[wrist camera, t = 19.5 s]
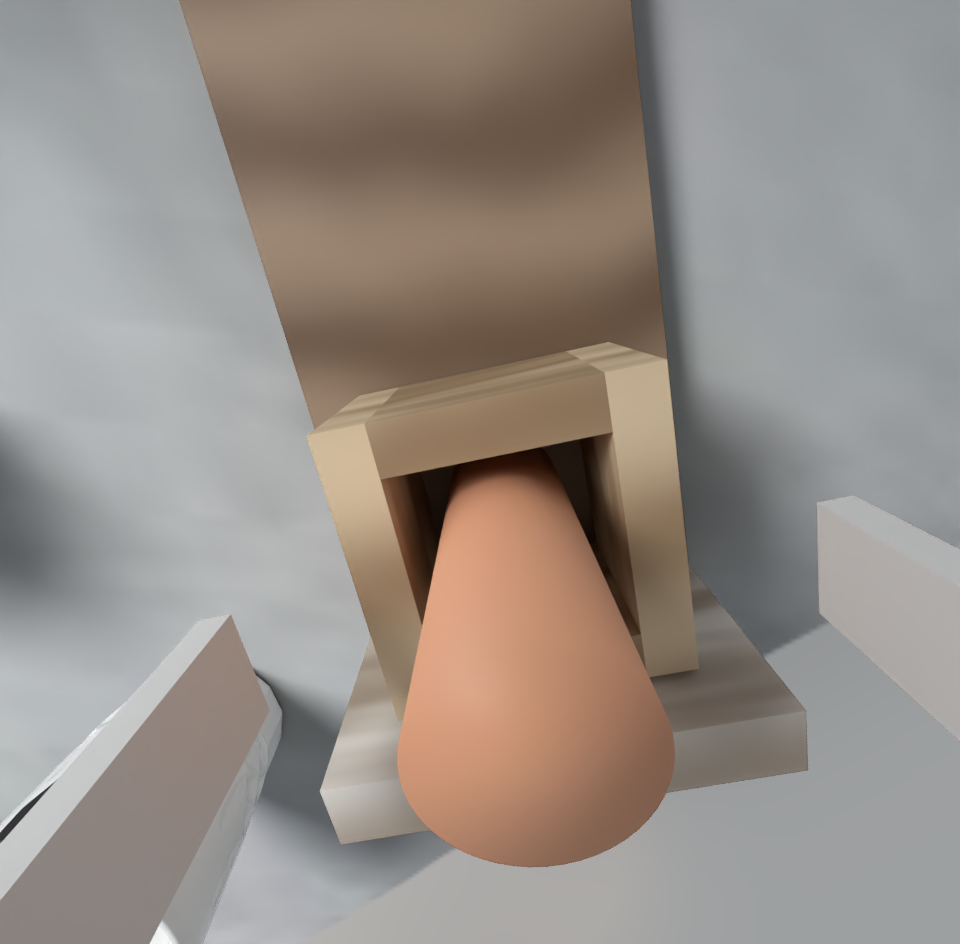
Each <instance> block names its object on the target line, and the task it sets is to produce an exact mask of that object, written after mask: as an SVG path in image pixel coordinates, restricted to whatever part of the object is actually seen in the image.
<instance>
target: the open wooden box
mask: <svg viewBox="0 0 960 944" xmlns="http://www.w3.org/2000/svg"><path fill="white" fill-rule="evenodd" d="M307 439H308V443H309V446H310V449H311V452H312V455H313V458H314V461H315V464H316V467H317V471H318V474H319V477H320V480H321V483H322V486H323V489H324V492H325V495H326V498H327V502H328V505H329V508H330V511H331V514H332V517H333V520H334V523H335V526H336V530H337V533H338V536H339V539H340V542H341V545H342V548H343V551H344V554H345V558H346V561H347V564H348V567H349V570H350V573H351V576H352V579H353V582H354V585H355V589H356V592H357V595H358V598H359V601H360V604H361V607H362V610H363V613H364V617H365V620H366V623H367V626H368V629H369V632H370V635H371V638H372V641H373V644H374V648H375V651H376V654H377V657H378V660H379V663H380V666H381V669H382V672H383V676H384V679H385V682H386V685H387V688H388V691H389V694H390V697H391V700H392V704H393V707H394V710H395V713H396V716H397V719H398V721H401V720H403V718H404V713H405V708H406V703H407V698H408V693H409V688H410V683H411V679H412V674H413V669H414V664H415V659H416V654H417V649H418V644H419V640H420V635H421V630H422V625H423V620H424V615H425V610H426V605H427V601H428V596H429V591H430V586H431V581H432V576H433V571H434V566H435V562H436V557H437V552H438V547H439V542H440V541H439V537H438V533H437V529H436V525H435V522H434V518H433V514H432V510H431V506H430V502H429V498H428V495H427V491H426V487H425V483H424V479H423V475H422V471H425V470H430V469H435V468H440V467H445V466H450V465H455V464H460V463H465V462H469V461H474V460H479V459H484V458H489V457H494V456H499V455H504V454H509V453H514V452H518V451H523V450H528V449H533V448H538V447H543V446H548V445H553V444H558V443H562V442H567V441H572V440H577V439H580V442H581V448H582V454H583V460H584V467H585V473H586V479H587V485H588V492H589V498H590V504H591V510H592V517H593V523H594V529H595V535H596V542H597V543H593V544H590V547H591V549H592V551H593V553H594V556H595V558H596V560H597V562H598V564H599V567H600V569H601V571H602V573H603V576H604V578H605V580H606V582H607V584H608V587H609V589H610V591H611V593H612V596H613V598H614V600H615V602H616V604H617V607H618V609H619V611H620V613H621V616H622V618H623V620H624V622H625V624H626V627H627V629H628V631H629V633H630V636H631V638H632V640H633V642H634V644H635V647H636V649H637V651H638V653H639V656H640V658H641V660H642V662H643V664H644V667H645V669H646V671H647V673H648V676H649V677H655V676H660V675H666V674H672V673H678V672H684V671H689V670H695V669H699V664H698V654H697V645H696V635H695V625H694V616H693V606H692V596H691V587H690V577H689V567H688V558H687V548H686V538H685V529H684V519H683V509H682V499H681V490H680V480H679V470H678V461H677V451H676V441H675V432H674V422H673V412H672V403H671V393H670V383H669V374H668V364H667V359H664V358H660V357H657V356H654V355H650V354H647V353H644V352H640V351H637V350H634V349H630V348H627V347H624V346H620V345H617V344H614V343H610V342H607V343H602V344H597V345H593V346H588V347H584V348H579V349H574V350H570V351H565V352H560V353H556V354H551V355H546V356H542V357H537V358H532V359H528V360H523V361H519V362H514V363H509V364H505V365H500V366H495V367H491V368H486V369H481V370H477V371H472V372H468V373H463V374H458V375H454V376H449V377H444V378H440V379H435V380H430V381H426V382H421V383H416V384H412V385H407V386H403V387H398V388H393V389H389V390H384V391H379V392H375V393H370V394H365V395H361V396H358V397H357V398H356V399H354V400H353V401H352V402H350V403H349V404H348V405H346V406H345V407H344V408H342V409H341V410H340V411H338V412H337V413H336V414H335V415H333V416H332V417H331V418H329V419H328V420H327V421H325V422H324V423H323V424H321V425H320V426H319V427H317V428H316V429H315V430H313V431H312V432H311V433H309V434H308V435H307Z"/></svg>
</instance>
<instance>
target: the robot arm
mask: <svg viewBox="0 0 960 944" xmlns="http://www.w3.org/2000/svg"><path fill="white" fill-rule="evenodd" d="M817 527H818V578H819V613H820V614H821V615H822V616H823V617H824V618H825V619H826V620H827V621H828V622H829V623H831V624H832V625H833V626H834V627H835V628H836V629H838V631H839V632H841V633H842V634H843V635H844V636H845V637H846V638H847V639H848V640H849V641H850V642H851V643H853V644H854V645H855V646H856V647H857V648H858V649H859V650H860V651H861V652H862V653H863V654H865V655H866V656H867V657H868V658H869V659H870V660H871V661H872V662H873V663H874V664H875V665H877V666H878V667H879V668H880V669H881V670H882V671H883V672H884V673H885V674H886V675H887V676H889V677H890V678H891V679H892V680H893V681H894V682H895V683H896V684H897V685H898V686H900V687H901V688H902V689H903V690H904V691H905V692H906V693H908V695H909V696H911V697H912V698H913V699H914V700H915V701H916V702H917V703H918V704H919V705H920V706H922V707H923V708H924V709H925V710H926V711H927V712H928V713H929V714H930V715H931V716H932V717H933V718H935V719H936V720H937V721H938V722H939V723H940V724H941V725H943V727H944V728H946V729H947V730H948V731H949V732H950V733H951V734H952V735H953V736H954V737H955V738H956V739H958V740H959V741H960V549H958V548H956V547H954V546H952V545H950V544H948V543H946V542H944V541H942V540H940V539H938V538H936V537H934V536H932V535H930V534H928V533H926V532H925V531H923V530H921V529H919V528H917V527H915V526H913V525H911V524H909V523H907V522H905V521H903V520H901V519H899V518H897V517H895V516H893V515H891V514H889V513H887V512H886V511H884V510H882V509H880V508H878V507H876V506H874V505H872V504H870V503H868V502H866V501H864V500H862V499H860V498H858V497H856V496H854V495H853V496H848V497H842V498H837V499H832V500H827V501H822V502H817ZM269 712H270V709H269V707H268V704H267V702H266V699H265V697H264V694H263V692H262V689H261V687H260V685H259V682H258V680H257V677H256V675H255V672H254V670H253V668H252V665H251V663H250V660H249V658H248V655H247V653H246V650H245V648H244V646H243V643H242V641H241V638H240V636H239V633H238V631H237V629H236V626H235V624H234V621H233V619H232V616H231V614H229V615H224V616H219V617H214V618H208V619H203V620H199V621H198V622H197V623H196V624H195V625H194V626H193V628H192V629H191V630H190V631H189V632H188V633H187V634H186V635H185V637H184V638H183V639H182V640H181V641H180V642H179V643H178V644H177V646H176V647H175V648H174V649H173V650H172V651H171V652H170V653H169V655H168V656H167V657H166V658H165V659H164V660H163V661H162V662H161V664H160V665H159V666H158V667H157V668H156V669H155V670H154V671H153V673H152V674H151V675H150V676H149V677H148V678H147V679H146V680H145V682H144V683H143V684H142V685H141V686H140V687H139V688H138V689H137V691H136V692H135V693H134V694H133V695H132V696H131V697H130V698H129V700H128V701H127V702H126V703H125V704H124V705H123V706H122V707H121V709H120V710H119V711H118V712H117V713H116V714H115V715H114V716H113V718H112V719H111V720H110V721H109V722H108V723H107V724H106V725H105V727H104V728H103V729H102V730H101V731H100V732H99V733H98V734H97V736H96V737H95V738H94V739H93V740H92V741H91V742H90V743H89V744H88V746H87V747H86V748H85V749H84V750H83V751H82V752H81V753H80V755H79V756H78V757H77V758H76V759H75V760H74V761H73V762H72V764H71V765H70V766H69V767H68V768H67V769H66V770H65V771H64V773H63V774H62V775H61V776H60V777H59V778H58V779H57V780H56V781H55V782H54V783H52V784H51V785H50V786H49V787H48V788H46V789H45V790H44V791H43V792H41V793H40V794H39V795H38V796H36V797H35V798H34V799H33V800H32V801H30V802H29V803H28V804H27V805H25V806H24V807H23V808H22V809H21V810H20V811H19V812H18V813H17V814H16V815H15V817H14V818H13V819H12V820H11V821H10V822H9V823H8V824H7V825H6V826H5V828H4V829H3V830H2V831H1V832H0V944H150V942H151V940H152V938H153V936H154V934H155V932H156V930H157V928H158V926H159V925H160V923H161V921H162V919H163V917H164V915H165V913H166V911H167V909H168V907H169V905H170V903H171V901H172V899H173V897H174V896H175V894H176V892H177V890H178V888H179V886H180V884H181V882H182V880H183V878H184V876H185V874H186V872H187V870H188V868H189V867H190V865H191V863H192V861H193V859H194V857H195V855H196V853H197V851H198V849H199V847H200V845H201V843H202V841H203V839H204V838H205V836H206V834H207V832H208V830H209V828H210V826H211V824H212V822H213V820H214V818H215V816H216V814H217V812H218V810H219V809H220V807H221V805H222V803H223V801H224V799H225V797H226V795H227V793H228V791H229V789H230V787H231V785H232V783H233V781H234V780H235V778H236V776H237V774H238V772H239V770H240V768H241V766H242V764H243V762H244V760H245V758H246V756H247V754H248V752H249V751H250V749H251V747H252V745H253V743H254V741H255V739H256V737H257V735H258V733H259V731H260V729H261V727H262V725H263V723H264V722H265V720H266V718H267V716H268V714H269Z"/></svg>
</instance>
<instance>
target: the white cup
mask: <svg viewBox="0 0 960 944" xmlns="http://www.w3.org/2000/svg"><path fill="white" fill-rule="evenodd" d="M256 677H257V680H258V682H259V685H260V687H261V689H262V692H263V694H264V697H265V699H266V702H267V704H268V707H269V709H270V712H269V714H268V716H267V718H266V720H265V722H264V723H263V725H262V727H261V729H260V731H259V733H258V735H257V737H256V739H255V741H254V743H253V745H252V747H251V749H250V751H249V752H248V754H247V756H246V758H245V760H244V762H243V764H242V766H241V768H240V770H239V772H238V774H237V776H236V778H235V780H234V781H233V783H232V785H231V787H230V789H229V791H228V793H227V795H226V797H225V799H224V801H223V803H222V805H221V807H220V809H219V810H218V812H217V814H216V816H215V818H214V820H213V822H212V824H211V826H210V828H209V830H208V832H207V834H206V836H205V838H204V839H203V841H202V843H201V845H200V847H199V849H198V851H197V853H196V855H195V857H194V859H193V861H192V863H191V865H190V867H189V868H188V870H187V872H186V874H185V876H184V878H183V880H182V882H181V884H180V886H179V888H178V890H177V892H176V894H175V896H174V897H173V899H172V901H171V903H170V905H169V907H168V909H167V911H166V913H165V915H164V917H163V919H162V921H161V923H160V925H159V926H158V928H157V930H156V932H155V934H154V936H153V938H152V940H151V942H150V944H203V942H204V940H205V937H206V935H207V932H208V930H209V927H210V924H211V922H212V919H213V917H214V914H215V912H216V909H217V907H218V904H219V902H220V899H221V897H222V894H223V892H224V889H225V887H226V884H227V881H228V879H229V876H230V874H231V871H232V869H233V866H234V864H235V861H236V859H237V856H238V854H239V851H240V849H241V846H242V843H243V841H244V838H245V835H246V832H247V829H248V826H249V822H250V819H251V817H252V815H253V813H254V810H255V808H256V805H257V803H258V800H259V797H260V794H261V791H262V787H263V784H264V780H265V775H266V773H267V771H268V769H269V766H270V764H271V761H272V759H273V756H274V754H275V752H276V749H277V747H278V744H279V742H280V739H281V729H282V710H281V708H280V706H279V704H278V702H277V700H276V698H275V696H274V694H273V692H272V690H271V688H270V686H269V685H267V684H266V683H265V682H264V681H262V680H261V679H260V678H259V677H258V676H256ZM136 691H137V690H136ZM136 691H135V692H136ZM128 700H129V699H128ZM128 700H127V701H128ZM127 701H126V702H127ZM126 702H125V703H126ZM125 703H124V704H125ZM124 704H123V705H124ZM123 705H122V706H123ZM122 706H121V707H122ZM121 707H120V708H118V709H117V710H116V711H115V712H113V713H112V714H111V715H110V716H109V717H108V718H106V719H105V720H104V721H103V722H102V723H101V724H100V725H99V726H98V727H97V728H96V729H95V730H94V731H93V732H92V733H91V734H90V735H89V736H88V737H87V738H86V739H85V740H84V742H82V743H81V744H80V745H79V746H78V747H77V748H76V749H74V750H73V751H72V752H71V753H70V754H69V755H68V756H67V757H66V758H65V759H64V760H63V761H62V762H61V763H60V764H59V765H58V766H57V767H56V768H55V769H54V770H53V771H52V772H51V773H50V774H49V775H48V776H47V777H46V778H45V779H44V780H43V781H42V782H41V783H40V784H39V785H38V786H37V787H36V788H35V789H34V790H33V791H32V792H31V793H30V794H29V795H28V796H27V797H26V798H25V799H24V800H23V801H22V802H21V803H20V804H19V806H18V807H17V808H16V809H15V810H14V811H13V812H12V813H11V814H10V815H9V816H8V817H7V818H6V819H5V820H4V821H3V822H2V823H1V824H0V832H1V831H2V830H3V829H4V828H5V826H6V825H7V824H8V823H9V822H10V821H11V820H12V819H13V818H14V817H15V815H16V814H17V813H18V812H19V811H20V810H21V809H22V808H23V807H24V806H25V805H27V804H28V803H29V802H30V801H32V800H33V799H34V798H35V797H36V796H38V795H39V794H40V793H41V792H43V791H44V790H45V789H46V788H48V787H49V786H50V785H51V784H52V783H54V782H55V781H56V780H57V779H58V778H59V777H60V776H61V775H62V774H63V773H64V771H65V770H66V769H67V768H68V767H69V766H70V765H71V764H72V762H73V761H74V760H75V759H76V758H77V757H78V756H79V755H80V753H81V752H82V751H83V750H84V749H85V748H86V747H87V746H88V744H89V743H90V742H91V741H92V740H93V739H94V738H95V737H96V736H97V734H98V733H99V732H100V731H101V730H102V729H103V728H104V727H105V725H106V724H107V723H108V722H109V721H110V720H111V719H112V718H113V716H114V715H115V714H116V713H117V712H118V711H119V710H120V709H121Z"/></svg>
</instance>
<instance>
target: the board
mask: <svg viewBox="0 0 960 944" xmlns="http://www.w3.org/2000/svg"><path fill="white" fill-rule="evenodd" d="M179 1H180V4H181V7H182V11H183V14H184V17H185V20H186V23H187V26H188V30H189V33H190V36H191V39H192V42H193V45H194V49H195V52H196V55H197V58H198V61H199V64H200V68H201V71H202V74H203V77H204V80H205V83H206V87H207V90H208V93H209V96H210V99H211V102H212V106H213V109H214V112H215V115H216V118H217V121H218V125H219V128H220V131H221V134H222V137H223V140H224V144H225V147H226V150H227V153H228V156H229V159H230V163H231V166H232V169H233V172H234V175H235V178H236V182H237V185H238V188H239V191H240V194H241V197H242V201H243V204H244V207H245V210H246V213H247V216H248V220H249V223H250V226H251V229H252V232H253V235H254V239H255V242H256V245H257V248H258V251H259V254H260V258H261V261H262V264H263V267H264V270H265V273H266V277H267V280H268V283H269V286H270V289H271V292H272V296H273V299H274V302H275V305H276V308H277V311H278V315H279V318H280V321H281V324H282V327H283V330H284V334H285V337H286V340H287V343H288V346H289V349H290V353H291V356H292V359H293V362H294V365H295V368H296V372H297V375H298V378H299V381H300V384H301V388H302V391H303V394H304V397H305V400H306V403H307V407H308V410H309V413H310V416H311V419H312V422H313V426H314V429H316V428H317V427H319V426H320V425H321V424H323V423H324V422H325V421H327V420H328V419H329V418H331V417H332V416H333V415H335V414H336V413H337V412H338V411H340V410H341V409H342V408H344V407H345V406H346V405H348V404H349V403H350V402H352V401H353V400H354V399H356V398H357V397H358V396H361V395H365V394H370V393H375V392H379V391H384V390H389V389H393V388H398V387H403V386H407V385H412V384H416V383H421V382H426V381H430V380H435V379H440V378H444V377H449V376H454V375H458V374H463V373H468V372H472V371H477V370H481V369H486V368H491V367H495V366H500V365H505V364H509V363H514V362H519V361H523V360H528V359H532V358H537V357H542V356H546V355H551V354H556V353H560V352H565V351H570V350H574V349H579V348H584V347H588V346H593V345H597V344H602V343H607V342H610V343H614V344H617V345H620V346H624V347H627V348H630V349H634V350H637V351H640V352H644V353H647V354H650V355H654V356H657V357H660V358H664V359H667V349H666V339H665V330H664V320H663V310H662V300H661V291H660V281H659V271H658V262H657V252H656V242H655V232H654V223H653V213H652V203H651V194H650V184H649V174H648V165H647V155H646V145H645V135H644V126H643V116H642V106H641V97H640V87H639V77H638V67H637V58H636V48H635V38H634V29H633V19H632V9H631V0H179ZM667 364H668V359H667ZM668 374H669V368H668ZM669 383H670V378H669ZM670 393H671V388H670ZM671 403H672V398H671ZM672 412H673V407H672ZM673 422H674V417H673ZM674 432H675V427H674ZM675 441H676V436H675ZM541 448H542V449H544V451H545V452H546V453H547V454H548V456H549V457H550V459H551V460H552V462H553V465H554V467H555V469H556V471H557V473H558V476H559V478H560V480H561V482H562V485H563V487H564V489H565V491H566V493H567V496H568V498H569V500H570V502H571V504H572V507H573V509H574V511H575V513H576V516H577V518H578V520H579V522H580V524H581V527H582V529H583V531H584V533H585V536H586V538H587V540H588V542H589V544H593V543H597V542H596V535H595V529H594V523H593V517H592V510H591V504H590V498H589V492H588V485H587V479H586V473H585V467H584V460H583V454H582V448H581V442H580V439H577V440H572V441H567V442H562V443H558V444H553V445H548V446H543V447H541ZM676 451H677V446H676ZM677 461H678V456H677ZM456 465H457V464H455V465H450V466H445V467H440V468H435V469H430V470H425V471H422V475H423V479H424V483H425V487H426V491H427V495H428V498H429V502H430V506H431V510H432V514H433V518H434V522H435V525H436V529H437V533H438V537H439V541H440V537H441V532H442V527H443V523H444V518H445V513H446V508H447V503H448V498H449V493H450V488H451V484H452V479H453V474H454V470H455V467H456ZM678 470H679V465H678ZM679 480H680V475H679ZM680 490H681V485H680ZM681 499H682V495H681ZM682 509H683V504H682ZM683 519H684V514H683ZM684 529H685V524H684ZM685 538H686V533H685ZM686 548H687V543H686ZM687 558H688V553H687ZM688 567H689V577H690V587H691V596H692V606H693V616H694V625H695V635H696V645H697V654H698V664H699V669H695V670H689V671H684V672H678V673H672V674H666V675H660V676H655V677H649V678H650V680H651V682H652V684H653V687H654V689H655V691H656V693H657V696H658V698H659V700H660V702H661V704H662V707H663V709H664V711H665V713H666V716H667V718H668V720H669V722H670V726H671V729H672V733H673V737H674V746H675V762H674V770H673V774H672V779H671V782H670V784H669V787H668V790H667V792H666V793H668V792H674V791H680V790H687V789H693V788H699V787H705V786H712V785H718V784H725V783H731V782H737V781H744V780H749V779H756V778H762V777H768V776H775V775H781V774H787V773H793V772H800V771H806V770H808V755H807V723H806V710H805V709H804V707H803V706H802V705H801V704H800V703H799V701H798V700H797V699H796V697H795V696H794V695H793V694H792V692H791V691H790V690H789V689H788V687H787V686H786V685H785V684H784V682H783V681H782V680H781V679H780V677H779V676H778V675H777V674H776V672H775V671H774V670H773V669H772V668H771V666H770V665H769V664H768V663H767V661H766V660H765V659H764V657H763V656H762V655H761V654H760V652H759V651H758V650H757V649H756V647H755V646H754V645H753V644H752V642H751V641H750V640H749V639H748V637H747V636H746V635H745V634H744V632H743V631H742V630H741V629H740V627H739V626H738V625H737V624H736V622H735V621H734V620H733V619H732V617H731V616H730V615H729V614H728V612H727V611H726V610H725V609H724V607H723V606H722V605H721V604H720V602H719V601H718V600H717V599H716V597H715V596H714V595H713V594H712V592H711V591H710V590H709V589H708V587H707V586H706V585H705V584H704V582H703V581H702V580H701V579H700V577H699V576H698V575H697V574H696V572H695V571H694V570H693V569H692V567H691V566H690V565H689V563H688ZM402 722H403V720H401V721H398V719H397V716H396V713H395V710H394V707H393V704H392V700H391V697H390V694H389V691H388V688H387V685H386V682H385V679H384V676H383V672H382V669H381V666H380V663H379V660H378V657H377V654H376V651H375V648H374V644H373V641H372V638H370V641H369V644H368V647H367V650H366V653H365V656H364V659H363V662H362V665H361V668H360V671H359V674H358V677H357V680H356V683H355V686H354V689H353V692H352V695H351V698H350V701H349V704H348V707H347V710H346V713H345V716H344V719H343V722H342V725H341V728H340V732H339V735H338V738H337V741H336V744H335V747H334V750H333V753H332V756H331V759H330V762H329V765H328V768H327V771H326V774H325V777H324V780H323V783H322V786H321V789H320V793H321V796H322V798H323V801H324V803H325V806H326V808H327V811H328V813H329V816H330V819H331V821H332V824H333V826H334V829H335V831H336V834H337V836H338V839H339V841H340V844H347V843H353V842H360V841H366V840H372V839H379V838H385V837H391V836H397V835H404V834H410V833H416V832H423V831H429V830H430V829H429V828H428V827H427V826H426V825H425V824H424V823H423V821H422V820H421V819H420V818H419V817H418V816H417V814H416V813H415V811H414V810H413V808H412V807H411V805H410V804H409V802H408V800H407V798H406V796H405V794H404V791H403V789H402V785H401V782H400V779H399V774H398V766H397V747H398V742H399V737H400V732H401V727H402Z"/></svg>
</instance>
